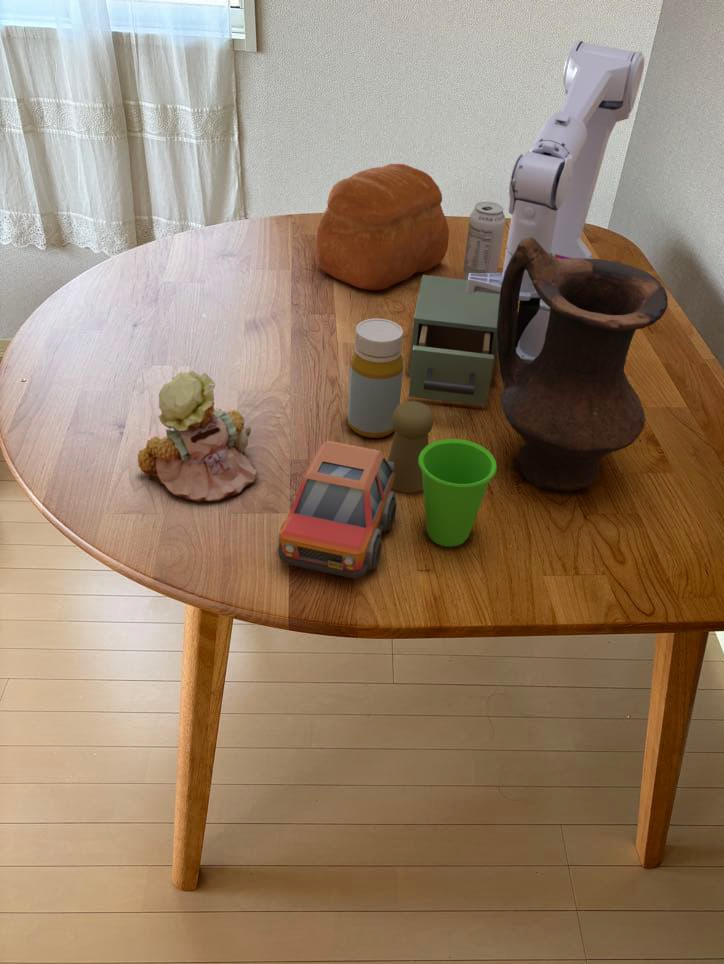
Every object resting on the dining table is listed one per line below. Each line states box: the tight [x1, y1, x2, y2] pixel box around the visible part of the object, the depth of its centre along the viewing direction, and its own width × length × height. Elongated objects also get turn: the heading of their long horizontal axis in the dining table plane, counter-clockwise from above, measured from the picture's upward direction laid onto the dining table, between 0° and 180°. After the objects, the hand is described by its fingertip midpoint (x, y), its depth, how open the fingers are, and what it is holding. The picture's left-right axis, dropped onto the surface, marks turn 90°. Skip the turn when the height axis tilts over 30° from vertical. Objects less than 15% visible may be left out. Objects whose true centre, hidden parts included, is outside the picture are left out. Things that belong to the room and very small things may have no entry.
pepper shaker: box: [387, 400, 435, 494], centre depth 115 cm, size 6×6×11 cm
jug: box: [496, 237, 669, 493], centre depth 114 cm, size 21×18×30 cm
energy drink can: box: [461, 201, 507, 280], centre depth 157 cm, size 6×6×15 cm
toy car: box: [277, 439, 397, 579], centre depth 106 cm, size 12×17×10 cm
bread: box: [314, 163, 450, 291], centre depth 160 cm, size 18×22×17 cm
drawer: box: [408, 324, 494, 407], centre depth 133 cm, size 18×11×8 cm, turn 174°
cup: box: [418, 438, 498, 548], centre depth 108 cm, size 9×9×11 cm
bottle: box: [347, 318, 404, 439], centre depth 123 cm, size 7×7×15 cm
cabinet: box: [408, 274, 500, 386], centre depth 141 cm, size 15×13×10 cm
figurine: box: [137, 370, 258, 503], centre depth 112 cm, size 15×14×15 cm
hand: (512, 343), depth 127 cm, fingers closed
